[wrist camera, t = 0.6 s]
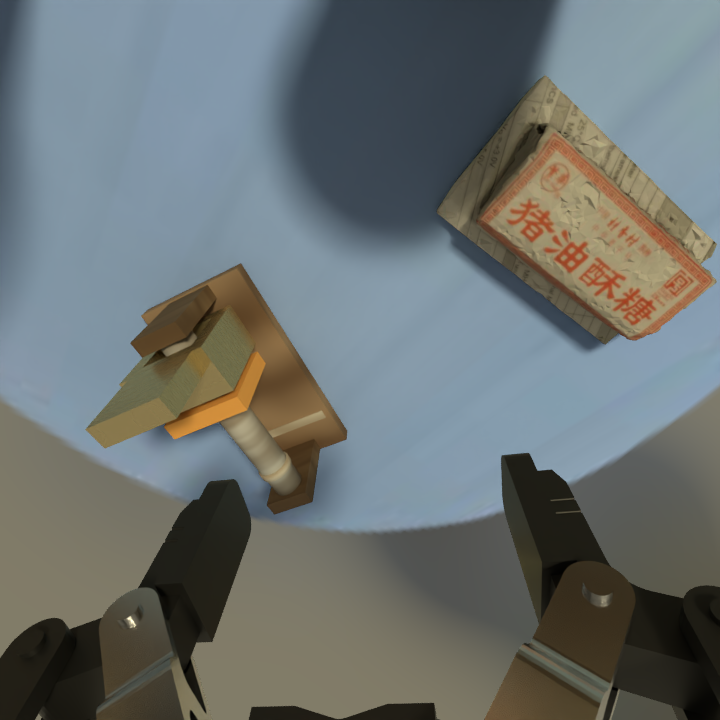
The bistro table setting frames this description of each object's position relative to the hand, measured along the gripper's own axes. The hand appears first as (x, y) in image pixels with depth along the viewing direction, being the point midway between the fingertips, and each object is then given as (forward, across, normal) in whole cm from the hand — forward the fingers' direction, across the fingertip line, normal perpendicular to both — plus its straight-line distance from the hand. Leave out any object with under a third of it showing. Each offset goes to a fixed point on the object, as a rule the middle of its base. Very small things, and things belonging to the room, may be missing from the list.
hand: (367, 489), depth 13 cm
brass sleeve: (+20, +14, +2) cm, 24 cm away
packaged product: (+24, -14, -2) cm, 28 cm away
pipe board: (+23, +12, +7) cm, 27 cm away
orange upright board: (+20, +13, +5) cm, 24 cm away
